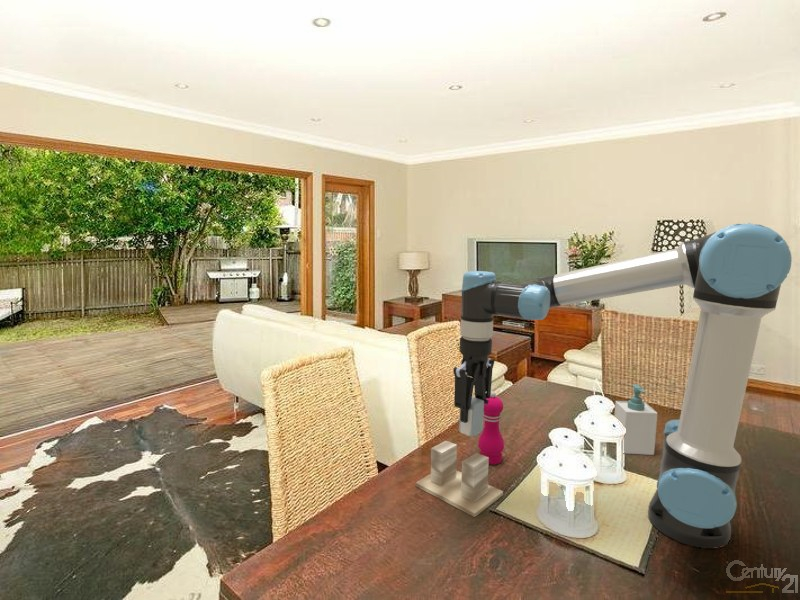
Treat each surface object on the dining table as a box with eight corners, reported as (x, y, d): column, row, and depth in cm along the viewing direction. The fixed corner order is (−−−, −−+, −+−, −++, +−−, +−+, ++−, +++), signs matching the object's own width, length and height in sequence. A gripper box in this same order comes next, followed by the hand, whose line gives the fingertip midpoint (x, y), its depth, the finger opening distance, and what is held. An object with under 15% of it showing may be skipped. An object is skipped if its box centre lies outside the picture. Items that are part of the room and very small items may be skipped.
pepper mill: (504, 466, 122) (506, 397, 119) (477, 464, 124) (479, 395, 121) (503, 454, 129) (505, 388, 126) (478, 452, 131) (479, 386, 128)
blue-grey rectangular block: (481, 431, 109) (484, 400, 107) (472, 437, 106) (474, 405, 105) (468, 426, 111) (470, 395, 110) (458, 431, 109) (460, 400, 107)
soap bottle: (623, 454, 129) (627, 390, 126) (612, 440, 138) (616, 380, 135) (654, 455, 128) (660, 392, 125) (641, 441, 137) (646, 381, 134)
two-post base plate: (503, 495, 109) (504, 456, 107) (474, 517, 100) (475, 475, 99) (445, 468, 121) (445, 433, 120) (415, 486, 113) (415, 449, 111)
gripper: (483, 329, 113) (479, 416, 117) (440, 339, 101) (436, 436, 105) (509, 334, 108) (504, 425, 112) (467, 346, 96) (462, 447, 100)
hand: (471, 430), depth 108 cm, fingers closed on blue-grey rectangular block, 4 cm apart
